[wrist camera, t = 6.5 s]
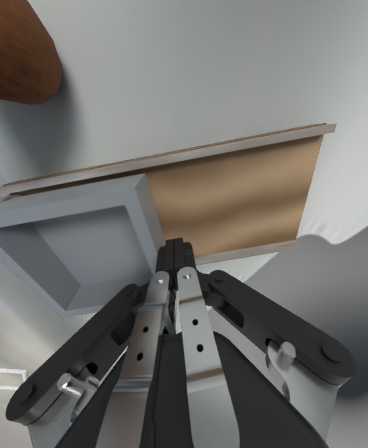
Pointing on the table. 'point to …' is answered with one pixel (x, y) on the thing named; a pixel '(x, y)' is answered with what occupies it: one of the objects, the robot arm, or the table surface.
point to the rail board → (217, 191)
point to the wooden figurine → (26, 56)
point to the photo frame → (23, 372)
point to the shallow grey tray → (82, 242)
